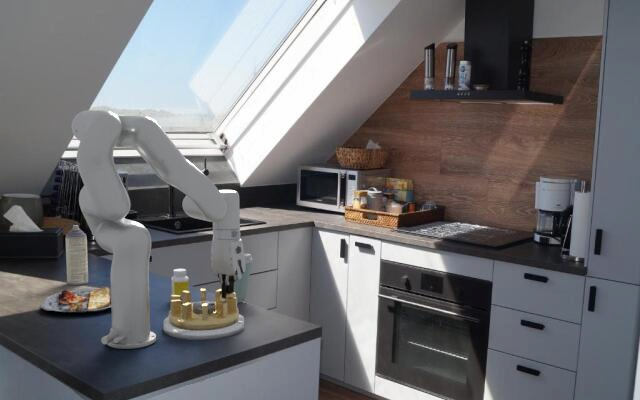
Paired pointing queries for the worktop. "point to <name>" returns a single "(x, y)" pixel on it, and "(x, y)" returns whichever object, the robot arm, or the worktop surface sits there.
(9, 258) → the worktop surface
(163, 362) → the worktop surface
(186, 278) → the supplement bottle
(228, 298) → the bladed impeller wheel
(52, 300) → the food plate
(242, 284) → the disposable coffee cup
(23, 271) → the worktop surface
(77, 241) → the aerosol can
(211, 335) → the light grey round disc
